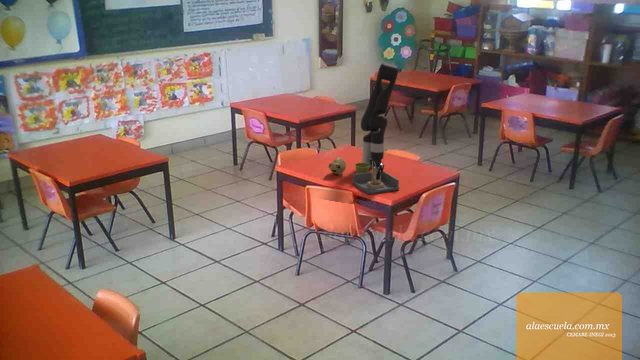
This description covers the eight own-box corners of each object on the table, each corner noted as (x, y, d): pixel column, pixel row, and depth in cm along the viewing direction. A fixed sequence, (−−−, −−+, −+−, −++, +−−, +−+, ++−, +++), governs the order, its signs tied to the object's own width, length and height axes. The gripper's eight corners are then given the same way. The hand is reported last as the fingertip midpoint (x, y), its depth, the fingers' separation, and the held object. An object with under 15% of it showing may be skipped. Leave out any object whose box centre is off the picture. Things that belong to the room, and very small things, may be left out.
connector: (371, 181, 350) (371, 167, 347) (377, 180, 352) (377, 166, 349) (374, 183, 347) (375, 169, 344) (380, 182, 348) (381, 168, 346)
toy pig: (325, 176, 369) (325, 159, 366) (333, 170, 379) (334, 154, 376) (340, 178, 365) (340, 161, 362) (348, 172, 375) (348, 156, 372)
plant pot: (351, 178, 365) (351, 164, 362) (361, 174, 372) (362, 161, 369) (362, 182, 359) (363, 168, 356) (373, 178, 365) (373, 164, 362)
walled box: (352, 184, 355) (352, 174, 353) (382, 179, 363) (382, 170, 361) (368, 194, 338) (368, 184, 336) (399, 190, 346) (399, 180, 344)
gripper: (389, 152, 338) (387, 181, 344) (376, 146, 351) (376, 174, 356) (377, 154, 335) (376, 182, 341) (365, 147, 348) (364, 175, 353)
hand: (376, 178), depth 349 cm, fingers closed on connector, 4 cm apart
